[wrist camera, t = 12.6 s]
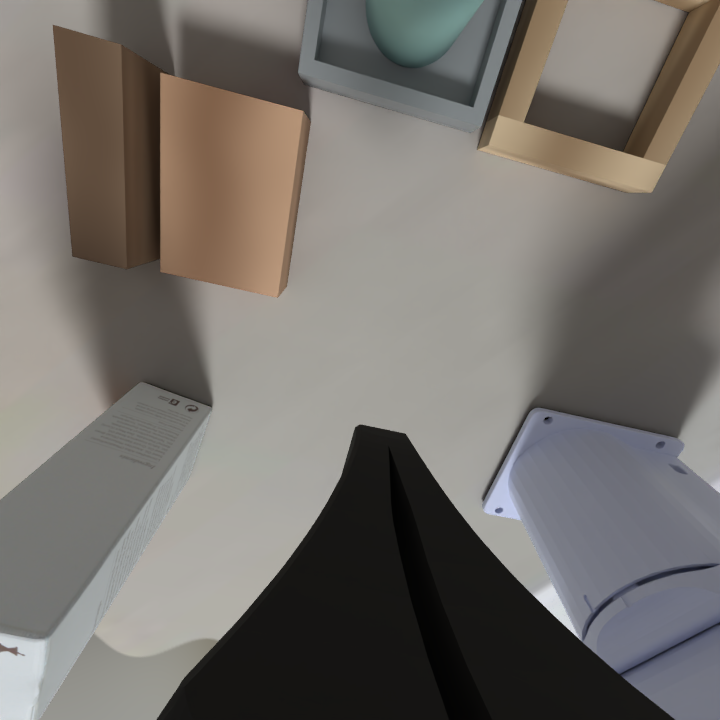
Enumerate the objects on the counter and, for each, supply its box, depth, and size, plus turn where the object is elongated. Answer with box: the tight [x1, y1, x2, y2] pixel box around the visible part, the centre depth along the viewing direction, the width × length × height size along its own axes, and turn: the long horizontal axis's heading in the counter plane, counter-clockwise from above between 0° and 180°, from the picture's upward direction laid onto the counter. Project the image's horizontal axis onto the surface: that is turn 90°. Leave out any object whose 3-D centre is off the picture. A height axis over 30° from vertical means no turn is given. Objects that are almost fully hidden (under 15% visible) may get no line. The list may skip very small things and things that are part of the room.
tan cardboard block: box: [160, 73, 311, 298], centre depth 15 cm, size 5×7×2 cm
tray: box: [298, 0, 522, 133], centre depth 13 cm, size 7×6×2 cm
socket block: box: [477, 0, 720, 193], centre depth 13 cm, size 7×7×2 cm
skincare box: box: [0, 382, 212, 720], centre depth 16 cm, size 6×4×12 cm
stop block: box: [53, 25, 169, 269], centre depth 14 cm, size 2×7×4 cm, turn 166°
